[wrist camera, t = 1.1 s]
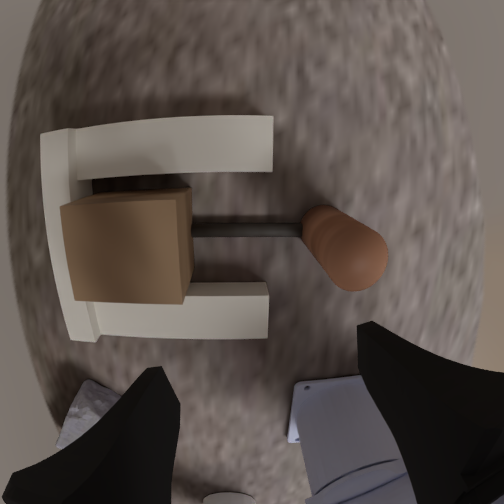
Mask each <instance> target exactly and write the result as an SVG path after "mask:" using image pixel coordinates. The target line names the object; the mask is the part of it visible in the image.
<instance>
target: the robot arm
mask: <svg viewBox="0 0 504 504" xmlns="http://www.w3.org/2000/svg"><path fill="white" fill-rule="evenodd" d="M357 344H358V368H359V371H360V373H361V375H357V376H349V377H341V378H332V379H323V380H313V381H301V382H298V383H296V384H295V386H294V392H293V399H292V406H291V414H290V421H289V427H288V434H287V441H288V442H290V443H295V442H300V444H301V449H302V453H303V458H304V462H305V466H306V471H307V475H308V480H309V484H310V489H311V493H312V497H310V498H307V499H305V503H306V504H504V373H502V372H494V371H489V370H484V369H479V368H475V367H471V366H467V365H463V364H460V363H457V362H454V361H451V360H448V359H445V358H443V357H440V356H438V355H436V354H433V353H431V352H429V351H427V350H424V349H422V348H420V347H418V346H416V345H414V344H412V343H410V342H409V341H407V340H405V339H403V338H401V337H399V336H398V335H396V334H394V333H392V332H391V331H389V330H387V329H386V328H384V327H382V326H380V325H379V324H377V323H375V322H373V321H370V322H367V323H363V324H360V325H357ZM306 386H308V387H306ZM179 429H180V402H179V400H178V398H177V396H176V394H175V392H174V390H173V388H172V386H171V384H170V382H169V380H168V378H167V376H166V374H165V372H164V370H163V368H162V366H159V367H151V368H147V369H146V370H145V371H144V372H143V373H142V374H141V375H140V376H139V377H138V378H137V379H136V381H135V382H134V383H133V384H132V385H131V386H130V387H129V389H128V390H127V391H126V392H125V393H124V394H123V395H122V397H121V398H120V399H119V400H118V401H117V402H116V403H115V404H114V405H113V406H112V407H111V408H110V410H109V411H108V412H107V413H106V414H105V415H104V416H103V417H102V418H101V419H100V420H99V421H98V422H97V423H96V424H94V425H93V426H92V427H91V428H90V429H89V430H88V431H86V432H85V433H84V434H83V435H82V436H80V437H79V438H78V439H76V440H75V441H74V442H72V443H71V444H69V445H68V446H66V447H65V448H63V449H62V450H60V451H59V452H57V453H56V454H54V455H52V456H50V457H49V458H47V459H45V460H43V461H41V462H39V463H37V464H35V465H32V466H30V467H27V468H25V469H22V470H20V471H17V472H14V473H13V474H12V475H11V478H10V480H9V482H8V484H7V486H6V489H5V491H4V493H3V495H2V498H3V500H4V502H5V503H6V504H171V482H172V472H173V466H174V460H175V453H176V447H177V441H178V435H179Z"/></svg>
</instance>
